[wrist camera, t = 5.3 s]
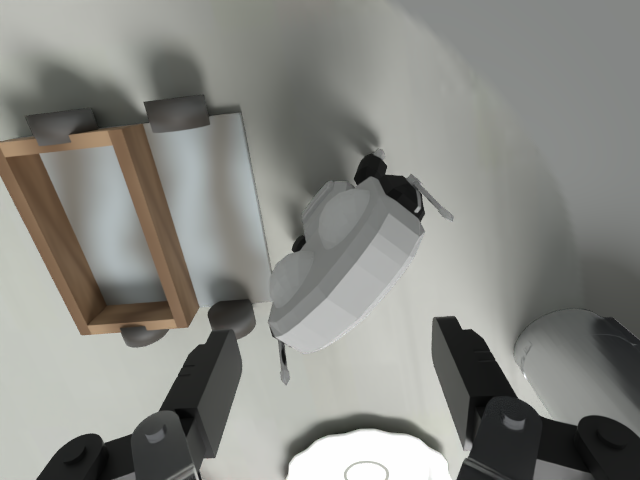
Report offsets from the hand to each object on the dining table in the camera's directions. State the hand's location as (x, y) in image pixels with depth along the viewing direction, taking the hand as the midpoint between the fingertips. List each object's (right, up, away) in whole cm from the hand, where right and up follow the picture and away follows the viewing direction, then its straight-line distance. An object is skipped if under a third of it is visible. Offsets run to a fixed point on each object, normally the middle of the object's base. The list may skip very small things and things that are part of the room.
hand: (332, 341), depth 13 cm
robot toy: (+1, +8, +16) cm, 18 cm away
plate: (+6, -27, +32) cm, 42 cm away
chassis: (-14, +5, +17) cm, 23 cm away
